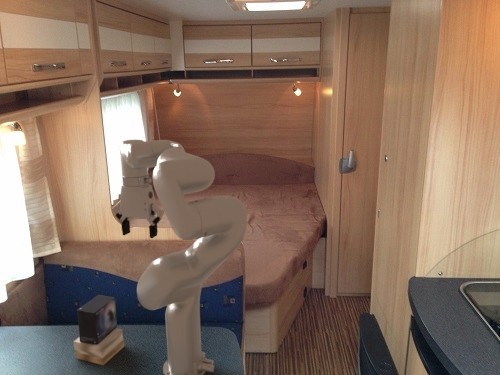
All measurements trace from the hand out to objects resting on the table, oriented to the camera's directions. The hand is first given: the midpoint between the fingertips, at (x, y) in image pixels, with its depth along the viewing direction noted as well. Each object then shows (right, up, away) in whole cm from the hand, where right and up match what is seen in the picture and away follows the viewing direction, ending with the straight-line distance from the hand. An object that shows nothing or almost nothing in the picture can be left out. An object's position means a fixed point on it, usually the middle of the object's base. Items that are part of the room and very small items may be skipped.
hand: (139, 235), depth 135 cm
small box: (-12, -30, -2) cm, 32 cm away
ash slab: (-12, -33, -2) cm, 36 cm away
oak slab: (-12, -37, -1) cm, 39 cm away
